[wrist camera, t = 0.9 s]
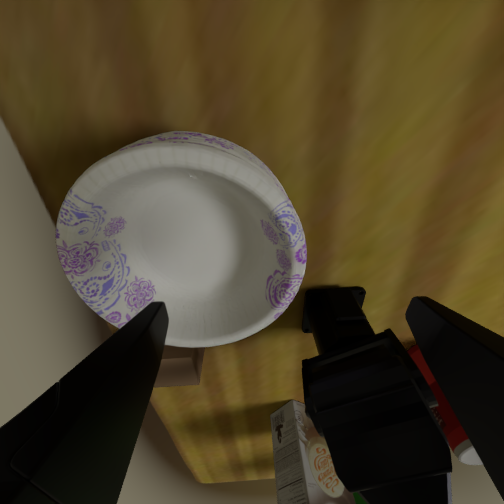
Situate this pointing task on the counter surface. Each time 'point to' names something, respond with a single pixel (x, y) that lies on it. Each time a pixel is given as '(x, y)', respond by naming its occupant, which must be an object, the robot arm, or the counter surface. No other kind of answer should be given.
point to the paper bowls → (183, 238)
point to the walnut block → (180, 366)
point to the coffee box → (303, 461)
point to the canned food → (446, 415)
